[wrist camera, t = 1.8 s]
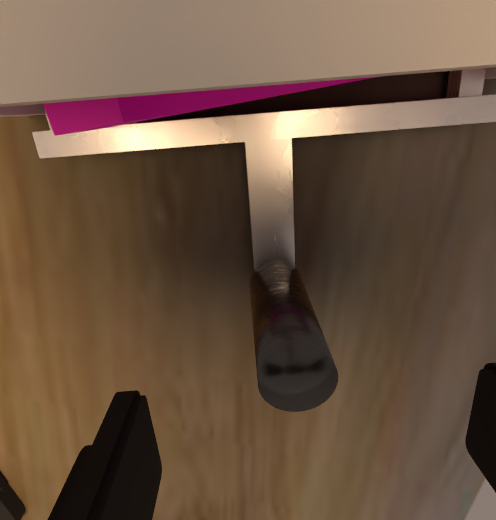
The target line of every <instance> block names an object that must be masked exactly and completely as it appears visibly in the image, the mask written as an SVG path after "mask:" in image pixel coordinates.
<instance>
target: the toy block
mask: <svg viewBox="0 0 496 520" xmlns="http://www.w3.org/2000/svg"><path fill="white" fill-rule="evenodd" d="M379 77H383V76H379ZM372 78H378V77H367V78H355V79H342V80H330V81H317V82H305V83H293V84H280V85H268V86H255V87H243V88H231V89H218V90H206V91H193V92H181V93H169V94H156V95H144V96H131V97H119V98H106V99H94V100H82V101H69V102H57V103H44V104H43V105H44V108H45V111H46V114H47V116H48V119H49V122H50V125H51V127H52V130H53V133H54V135H55V136H57V135H63V134H70V133H76V132H83V131H89V130H95V129H102V128H108V127H113V126H118V125H124V124H131V123H138V122H144V121H149V120H154V119H159V118H165V117H170V116H175V115H181V114H186V113H191V112H197V111H202V110H207V109H213V108H218V107H223V106H229V105H234V104H239V103H245V102H250V101H255V100H261V99H266V98H271V97H277V96H282V95H287V94H292V93H298V92H303V91H308V90H314V89H319V88H324V87H330V86H335V85H340V84H346V83H351V82H356V81H362V80H367V79H372Z"/></svg>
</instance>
